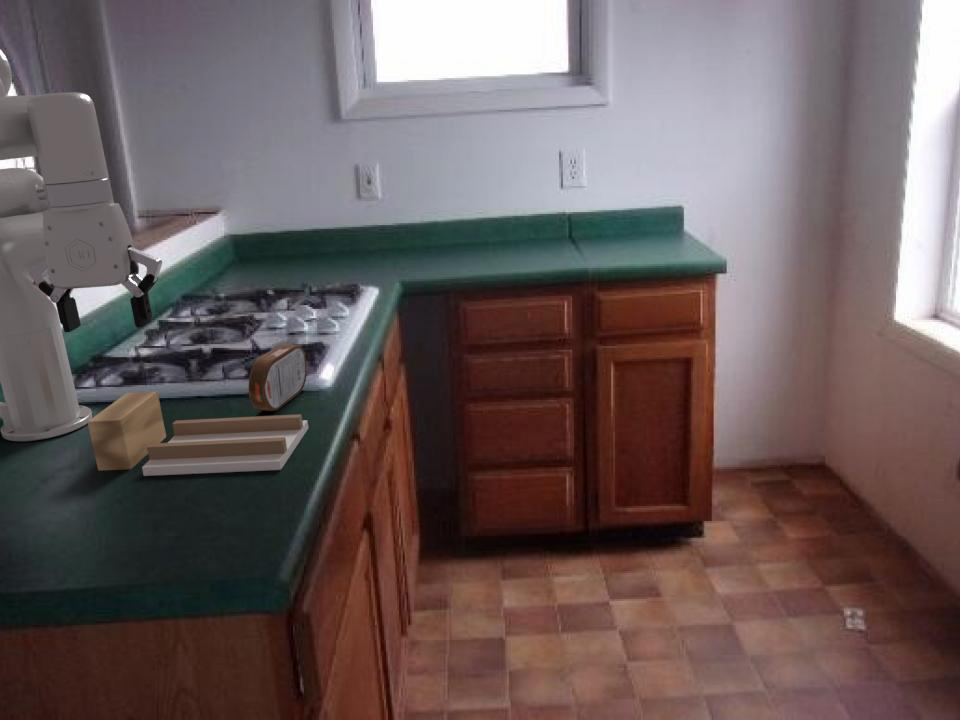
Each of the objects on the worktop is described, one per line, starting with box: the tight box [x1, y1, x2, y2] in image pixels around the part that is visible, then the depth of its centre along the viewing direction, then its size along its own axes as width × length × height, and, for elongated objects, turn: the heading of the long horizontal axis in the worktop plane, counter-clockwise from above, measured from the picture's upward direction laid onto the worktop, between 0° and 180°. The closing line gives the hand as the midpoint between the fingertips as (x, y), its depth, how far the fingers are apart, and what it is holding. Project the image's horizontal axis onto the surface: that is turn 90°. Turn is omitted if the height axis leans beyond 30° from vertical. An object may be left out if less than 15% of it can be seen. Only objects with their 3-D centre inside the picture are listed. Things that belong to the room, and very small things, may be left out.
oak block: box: [87, 391, 167, 471], centre depth 117 cm, size 4×11×7 cm, turn 176°
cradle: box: [141, 413, 309, 477], centre depth 116 cm, size 18×14×3 cm
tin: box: [248, 343, 308, 412], centre depth 133 cm, size 15×3×8 cm, turn 166°
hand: (108, 327), depth 113 cm, fingers open, 9 cm apart
